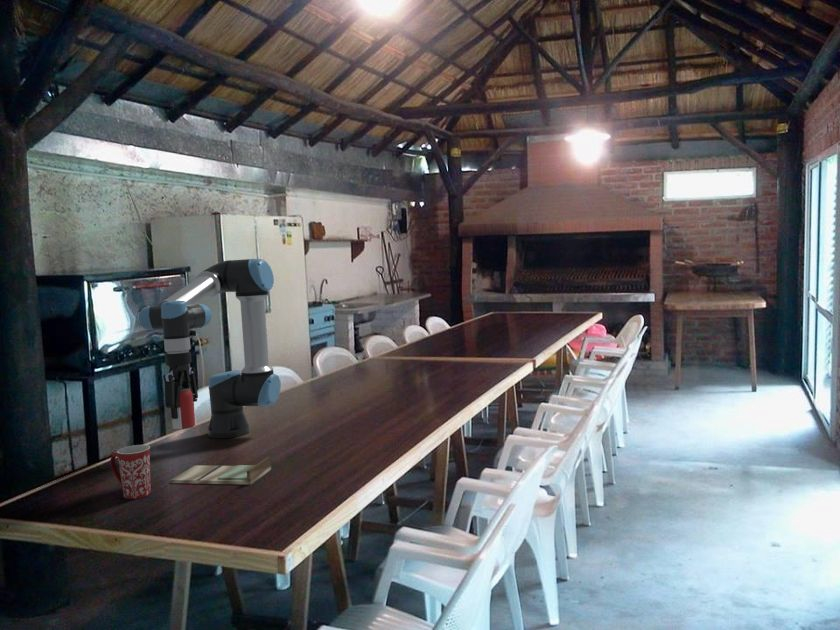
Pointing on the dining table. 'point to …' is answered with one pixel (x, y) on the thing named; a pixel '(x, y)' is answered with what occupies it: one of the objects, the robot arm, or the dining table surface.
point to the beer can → (186, 408)
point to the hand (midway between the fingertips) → (184, 425)
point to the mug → (133, 470)
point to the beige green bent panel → (224, 474)
